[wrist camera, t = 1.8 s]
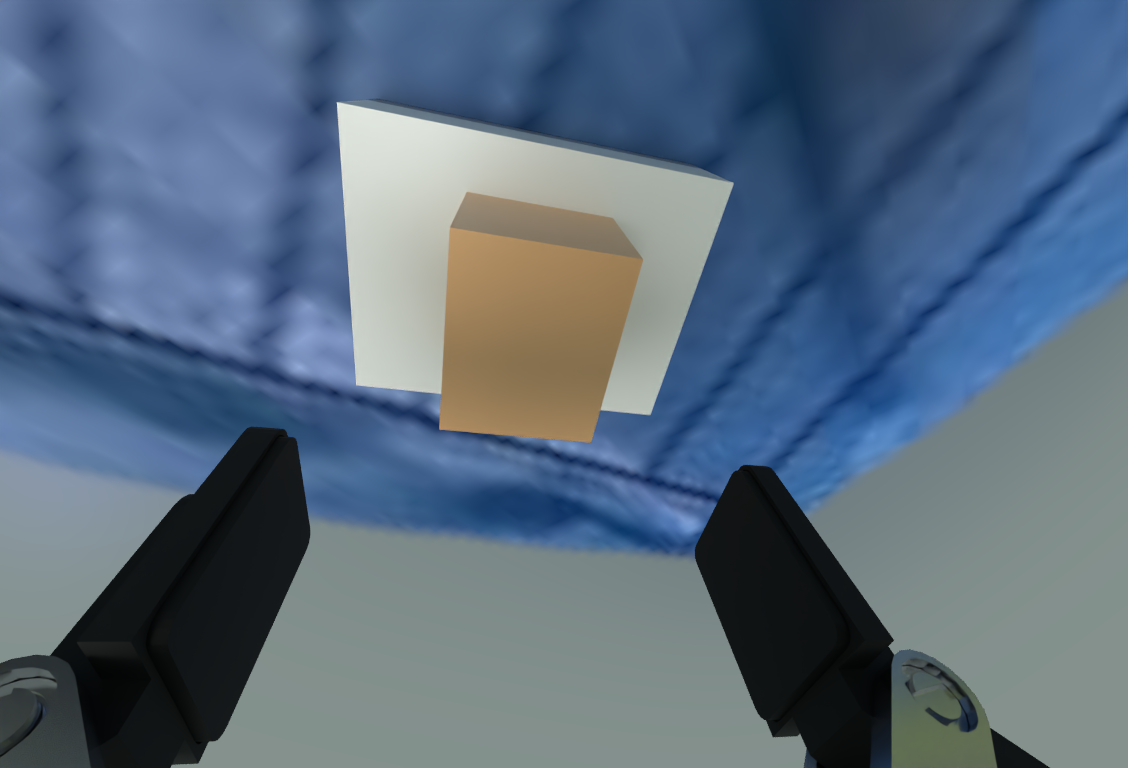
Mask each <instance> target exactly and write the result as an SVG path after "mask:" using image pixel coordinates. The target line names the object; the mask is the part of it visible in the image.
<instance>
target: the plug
mask: <svg viewBox="0 0 1128 768" xmlns="http://www.w3.org/2000/svg"><path fill="white" fill-rule="evenodd" d="M642 262H643V258H642V257H641V256H640V254H639V253H638V252H637V250H636V249H635V247H634V246H633V245H632V243H631V242H630V241H629V239H628V238H627V237H626V235H625V234H624V233H623V231H622V230H621V229H620V227H619V226H618V224H617V223H616V222H615V220H614V219H613V218H610V217H604V216H599V215H593V214H588V213H582V212H577V211H571V210H565V209H560V208H554V207H549V206H543V205H538V204H532V203H527V202H521V201H515V200H510V199H504V198H499V197H493V196H488V195H482V194H476V193H471V192H466V194H465V196H464V199H463V201H462V203H461V205H460V207H459V209H458V211H457V213H456V215H455V218H454V220H453V222H452V224H451V226H450V233H449V252H448V271H447V291H446V310H445V329H444V349H443V368H442V388H441V407H440V426H439V429H441V430H452V431H463V432H475V433H486V434H497V435H509V436H520V437H532V438H543V439H554V440H566V441H577V442H588V443H591V441H592V438H593V434H594V431H595V427H596V424H597V420H598V417H599V413H600V410H601V406H602V403H603V399H604V395H605V392H606V388H607V385H608V381H609V378H610V374H611V371H612V367H613V364H614V360H615V357H616V353H617V350H618V346H619V343H620V339H621V336H622V332H623V329H624V325H625V322H626V318H627V315H628V311H629V308H630V304H631V301H632V297H633V294H634V290H635V287H636V283H637V280H638V276H639V273H640V269H641V266H642Z"/></svg>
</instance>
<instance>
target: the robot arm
mask: <svg viewBox="0 0 1128 768" xmlns="http://www.w3.org/2000/svg"><path fill="white" fill-rule="evenodd" d="M309 539H310V524H309V518H308V511H307V505H306V498H305V492H304V485H303V479H302V472H301V465H300V459H299V452H298V446H297V441H296V439H295V438H293V437H288V435H287V432H286V431H285V430H284V429H275V428H263V427H249V428H247V429H246V430H245V431H244V432H243V433H242V435H241V436H240V437H239V438H238V440H237V441H236V442H235V443H234V445H233V446H232V447H231V448H230V450H229V451H228V452H227V453H226V455H225V456H224V457H223V458H222V460H221V461H220V462H219V463H218V465H217V466H216V467H215V469H214V470H213V471H212V472H211V474H210V475H209V476H208V477H207V479H206V480H205V481H204V482H203V484H202V485H201V486H200V487H199V489H198V490H197V491H196V492H195V494H189V495H187V496H185V497H183V498H181V499H180V500H179V501H178V502H177V503H176V504H175V505H174V506H173V507H172V508H171V510H170V511H169V512H168V513H167V515H166V516H165V517H164V518H163V519H162V521H161V522H160V523H159V524H158V526H157V527H156V528H155V529H154V530H153V531H152V533H151V534H150V535H149V536H148V538H147V539H146V540H145V541H144V542H143V544H142V545H141V546H140V547H139V549H138V550H137V551H136V552H135V553H134V555H133V556H132V557H131V558H130V559H129V561H128V562H127V563H126V564H125V565H124V567H123V568H122V569H121V570H120V571H119V573H118V574H117V575H116V576H115V578H114V579H113V580H112V581H111V582H110V584H109V585H108V586H107V587H106V588H105V590H104V591H103V592H102V593H101V595H100V596H99V597H98V598H97V599H96V601H95V602H94V603H93V604H92V606H91V607H90V608H89V609H88V610H87V611H86V613H85V614H84V615H83V616H82V618H81V619H80V620H79V621H78V622H77V624H76V625H75V626H74V627H73V628H72V630H71V631H70V632H69V633H68V634H67V636H66V637H65V638H64V639H63V641H62V642H61V643H60V644H59V645H58V647H57V648H56V649H55V650H54V651H53V653H52V654H51V655H50V656H45V655H32V656H27V657H21V658H15V659H11V660H8V661H5V662H3V663H0V768H170V767H171V765H175V764H195V763H196V764H197V763H199V761H200V759H201V757H202V754H203V753H204V750H205V748H206V746H207V744H208V742H209V741H216V740H218V739H219V738H220V737H221V735H222V734H223V732H224V731H225V729H226V727H227V725H228V723H229V720H230V718H231V716H232V714H233V712H234V709H235V707H236V705H237V703H238V700H239V698H240V696H241V694H242V692H243V689H244V687H245V685H246V683H247V681H248V678H249V676H250V674H251V672H252V669H253V667H254V665H255V663H256V660H257V658H258V656H259V654H260V652H261V649H262V647H263V645H264V642H265V641H266V638H267V636H268V634H269V632H270V629H271V627H272V625H273V623H274V621H275V618H276V616H277V614H278V612H279V609H280V607H281V605H282V603H283V600H284V598H285V596H286V594H287V592H288V590H289V587H290V585H291V583H292V581H293V578H294V576H295V574H296V572H297V570H298V567H299V565H300V563H301V561H302V558H303V556H304V554H305V552H306V549H307V547H308V544H309ZM695 559H696V562H697V565H698V567H699V570H700V572H701V575H702V577H703V580H704V582H705V585H706V587H707V590H708V592H709V594H710V597H711V599H712V602H713V604H714V607H715V609H716V612H717V614H718V617H719V619H720V621H721V624H722V627H723V629H724V631H725V634H726V637H727V639H728V641H729V644H730V646H731V649H732V651H733V654H734V656H735V659H736V661H737V664H738V666H739V669H740V671H741V674H742V676H743V679H744V681H745V684H746V686H747V689H748V691H749V694H750V696H751V699H752V701H753V704H754V706H755V708H756V710H757V712H758V714H759V715H760V717H761V718H763V719H764V720H766V721H767V724H768V726H769V729H770V731H771V733H772V736H773V737H787V736H798V735H799V734H801V736H802V739H803V741H804V743H805V745H806V747H807V749H806V756H805V762H804V768H1049V767H1048V766H1046V765H1045V764H1044V763H1042V762H1041V761H1039V760H1037V759H1036V758H1035V757H1033V756H1031V755H1030V754H1029V753H1027V752H1026V751H1024V750H1022V749H1021V748H1020V747H1018V746H1017V745H1015V744H1014V743H1012V742H1010V741H1009V740H1007V739H1006V738H1005V737H1003V736H1002V735H1000V734H999V733H997V732H995V731H994V730H993V729H991V728H990V726H989V722H988V719H987V716H986V713H985V710H984V708H983V707H982V705H981V704H980V702H979V700H978V699H977V697H976V695H975V694H974V693H973V692H972V691H971V689H970V688H969V687H968V686H967V685H966V683H965V682H964V681H963V680H962V679H960V678H959V677H958V676H957V675H956V674H955V673H954V672H953V671H951V669H949V668H948V667H946V666H945V665H943V664H942V663H941V662H939V661H938V660H936V659H935V658H933V657H930V656H928V655H926V654H924V653H922V652H918V651H914V650H910V649H909V650H901V651H899V652H898V653H897V654H895V655H894V654H893V653H892V651H891V650H890V648H889V647H888V646H889V645H890V644H891V643H892V642H893V641H894V640H893V638H892V637H891V635H890V634H889V633H888V631H887V630H886V628H885V627H884V626H883V625H882V623H881V622H880V620H879V618H878V617H877V616H876V614H875V613H874V611H873V610H872V609H871V607H870V606H869V604H868V603H867V602H866V600H865V599H864V597H863V596H862V595H861V593H860V592H859V590H858V589H857V588H856V586H855V585H854V583H853V582H852V581H851V579H850V578H849V576H848V575H847V573H846V572H845V571H844V569H843V568H842V566H841V565H840V564H839V562H838V561H837V559H836V558H835V557H834V555H833V554H832V552H831V551H830V549H829V548H828V547H827V545H826V544H825V543H824V541H823V540H822V538H821V537H820V536H819V534H818V533H817V531H816V530H815V529H814V527H813V526H812V524H811V523H810V521H809V520H808V519H807V517H806V516H805V514H804V513H803V511H802V510H801V509H800V507H799V506H798V504H797V503H796V502H795V500H794V499H793V497H792V496H791V495H790V493H789V492H788V490H787V489H786V488H785V486H784V485H783V483H782V482H781V480H780V479H779V478H778V476H777V475H776V473H775V472H774V471H773V470H772V469H771V468H770V467H767V466H754V465H743V466H741V467H740V469H739V470H738V471H735V472H733V474H732V475H731V477H730V479H729V481H728V483H727V485H726V487H725V489H724V491H723V493H722V495H721V497H720V499H719V501H718V503H717V505H716V507H715V509H714V511H713V513H712V515H711V517H710V519H709V521H708V523H707V525H706V527H705V529H704V531H703V533H702V535H701V537H700V539H699V541H698V543H697V545H696V547H695Z"/></svg>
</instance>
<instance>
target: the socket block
mask: <svg viewBox="0 0 1128 768" xmlns="http://www.w3.org/2000/svg"><path fill="white" fill-rule="evenodd" d="M337 109H338V124H339V139H340V153H341V168H342V182H343V197H344V212H345V226H346V241H347V255H348V270H349V285H350V299H351V314H352V328H353V343H354V358H355V372H356V385H359V386H369V387H379V388H388V389H398V390H408V391H418V392H428V393H438V394H441V388H442V368H443V349H444V329H445V310H446V291H447V271H448V252H449V233H450V226H451V224H452V222H453V220H454V218H455V215H456V213H457V211H458V209H459V207H460V205H461V203H462V201H463V199H464V196H465V194H466V192H471V193H476V194H482V195H488V196H493V197H499V198H504V199H510V200H515V201H521V202H527V203H532V204H538V205H543V206H549V207H554V208H560V209H565V210H571V211H577V212H582V213H588V214H593V215H599V216H604V217H610V218H613V219H614V220H615V222H616V223H617V224H618V226H619V227H620V229H621V230H622V231H623V233H624V234H625V235H626V237H627V238H628V239H629V241H630V242H631V243H632V245H633V246H634V247H635V249H636V250H637V252H638V253H639V254H640V256H641V257H642V258H643V262H642V266H641V269H640V273H639V276H638V280H637V283H636V287H635V290H634V294H633V297H632V301H631V304H630V308H629V311H628V315H627V318H626V322H625V325H624V329H623V332H622V336H621V339H620V343H619V346H618V350H617V353H616V357H615V360H614V364H613V367H612V371H611V374H610V378H609V381H608V385H607V388H606V392H605V395H604V399H603V403H602V406H601V410H605V411H615V412H625V413H634V414H644V415H651V412H652V409H653V406H654V403H655V401H656V398H657V395H658V392H659V390H660V387H661V384H662V381H663V378H664V376H665V373H666V370H667V367H668V365H669V362H670V359H671V356H672V354H673V351H674V348H675V345H676V342H677V340H678V337H679V334H680V331H681V329H682V326H683V323H684V320H685V318H686V315H687V312H688V309H689V306H690V304H691V301H692V298H693V295H694V293H695V290H696V287H697V284H698V282H699V279H700V276H701V273H702V270H703V268H704V265H705V262H706V259H707V257H708V254H709V251H710V248H711V245H712V243H713V240H714V237H715V234H716V232H717V229H718V226H719V223H720V221H721V218H722V215H723V212H724V209H725V207H726V204H727V201H728V198H729V196H730V193H731V190H732V187H733V185H734V183H733V182H731V181H728V180H726V179H724V178H721V177H719V176H717V175H715V174H712V173H710V172H708V171H705V170H703V169H701V168H699V167H696V166H694V165H692V164H688V163H683V162H678V161H673V160H668V159H664V158H659V157H654V156H649V155H644V154H640V153H635V152H630V151H625V150H620V149H616V148H611V147H606V146H601V145H596V144H591V143H587V142H582V141H577V140H572V139H567V138H563V137H558V136H553V135H548V134H543V133H539V132H534V131H529V130H524V129H519V128H515V127H510V126H505V125H500V124H495V123H491V122H486V121H481V120H476V119H471V118H467V117H462V116H457V115H452V114H447V113H442V112H438V111H433V110H428V109H423V108H418V107H414V106H409V105H404V104H399V103H394V102H390V101H385V100H380V99H369V100H357V101H345V102H337Z"/></svg>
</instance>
